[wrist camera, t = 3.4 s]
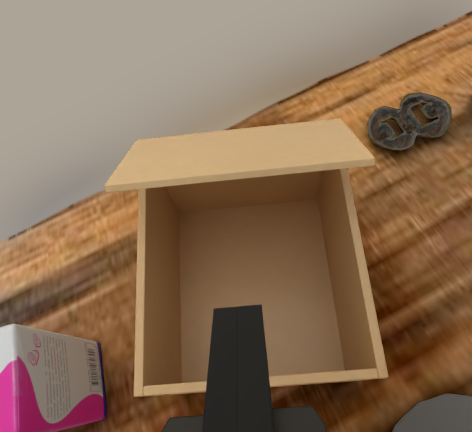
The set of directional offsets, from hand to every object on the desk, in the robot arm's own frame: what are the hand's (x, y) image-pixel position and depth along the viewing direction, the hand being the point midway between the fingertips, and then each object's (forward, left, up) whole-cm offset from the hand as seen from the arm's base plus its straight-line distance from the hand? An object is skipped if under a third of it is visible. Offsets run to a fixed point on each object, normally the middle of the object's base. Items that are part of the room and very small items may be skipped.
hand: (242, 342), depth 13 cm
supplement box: (+15, 0, -20) cm, 25 cm away
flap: (0, -11, -6) cm, 12 cm away
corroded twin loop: (-15, -20, -20) cm, 32 cm away
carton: (0, -6, -20) cm, 21 cm away
